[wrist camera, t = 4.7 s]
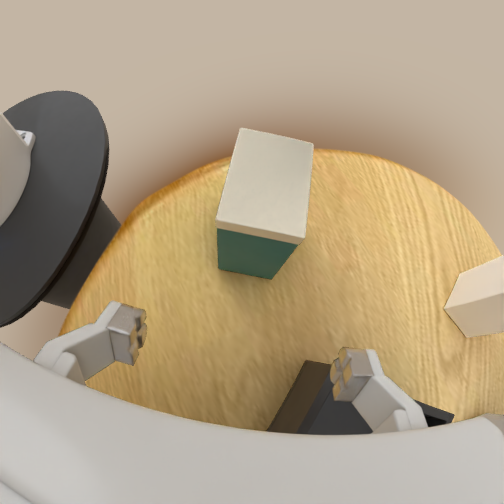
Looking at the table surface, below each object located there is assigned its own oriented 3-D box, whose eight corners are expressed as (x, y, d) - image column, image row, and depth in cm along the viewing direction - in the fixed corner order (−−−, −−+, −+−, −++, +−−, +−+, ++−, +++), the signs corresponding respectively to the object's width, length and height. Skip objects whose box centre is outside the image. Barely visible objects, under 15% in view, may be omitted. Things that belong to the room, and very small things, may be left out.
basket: (230, 484, 20) (234, 520, 13) (305, 359, 24) (332, 364, 18) (350, 514, 19) (376, 541, 12) (415, 406, 23) (455, 414, 17)
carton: (217, 269, 26) (215, 219, 16) (232, 201, 28) (240, 127, 18) (272, 280, 26) (305, 238, 16) (282, 212, 28) (314, 143, 18)
